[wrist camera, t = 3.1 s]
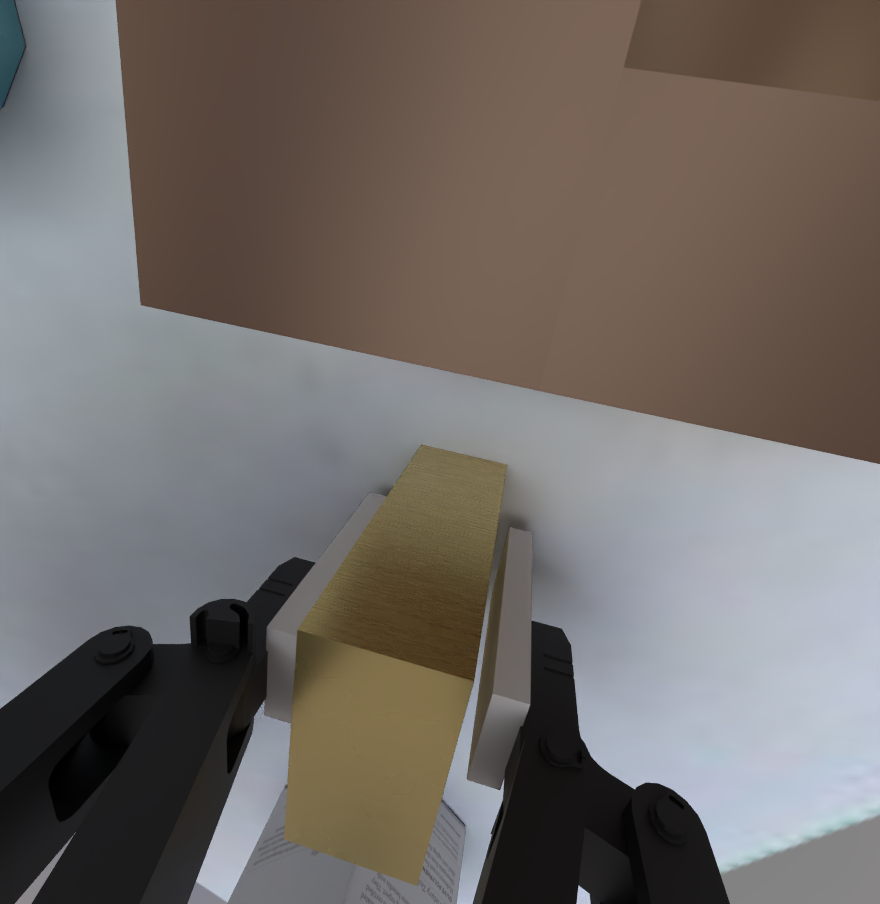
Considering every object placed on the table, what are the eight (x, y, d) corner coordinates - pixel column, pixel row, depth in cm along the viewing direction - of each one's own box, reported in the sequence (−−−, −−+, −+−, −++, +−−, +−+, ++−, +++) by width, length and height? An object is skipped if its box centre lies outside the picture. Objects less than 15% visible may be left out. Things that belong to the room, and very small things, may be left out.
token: (398, 582, 18) (283, 839, 10) (421, 444, 16) (297, 629, 8) (472, 602, 18) (417, 886, 10) (507, 464, 15) (474, 681, 7)
